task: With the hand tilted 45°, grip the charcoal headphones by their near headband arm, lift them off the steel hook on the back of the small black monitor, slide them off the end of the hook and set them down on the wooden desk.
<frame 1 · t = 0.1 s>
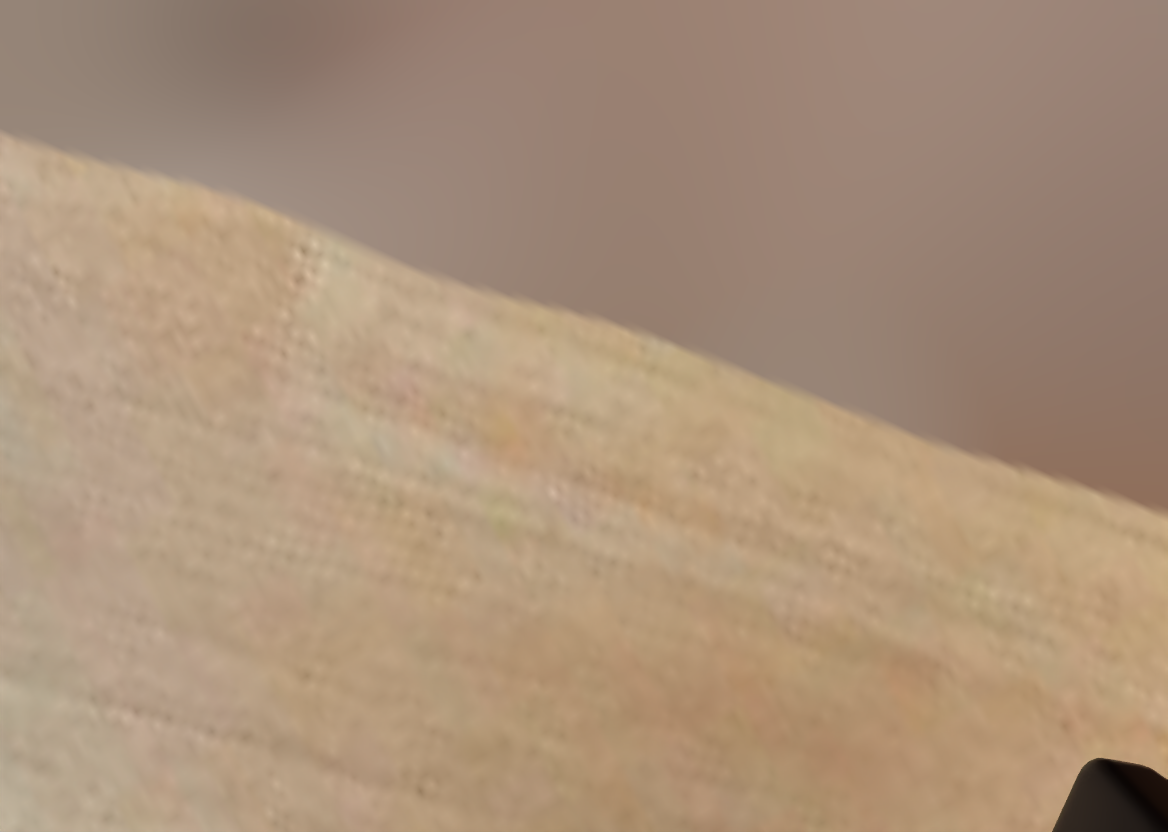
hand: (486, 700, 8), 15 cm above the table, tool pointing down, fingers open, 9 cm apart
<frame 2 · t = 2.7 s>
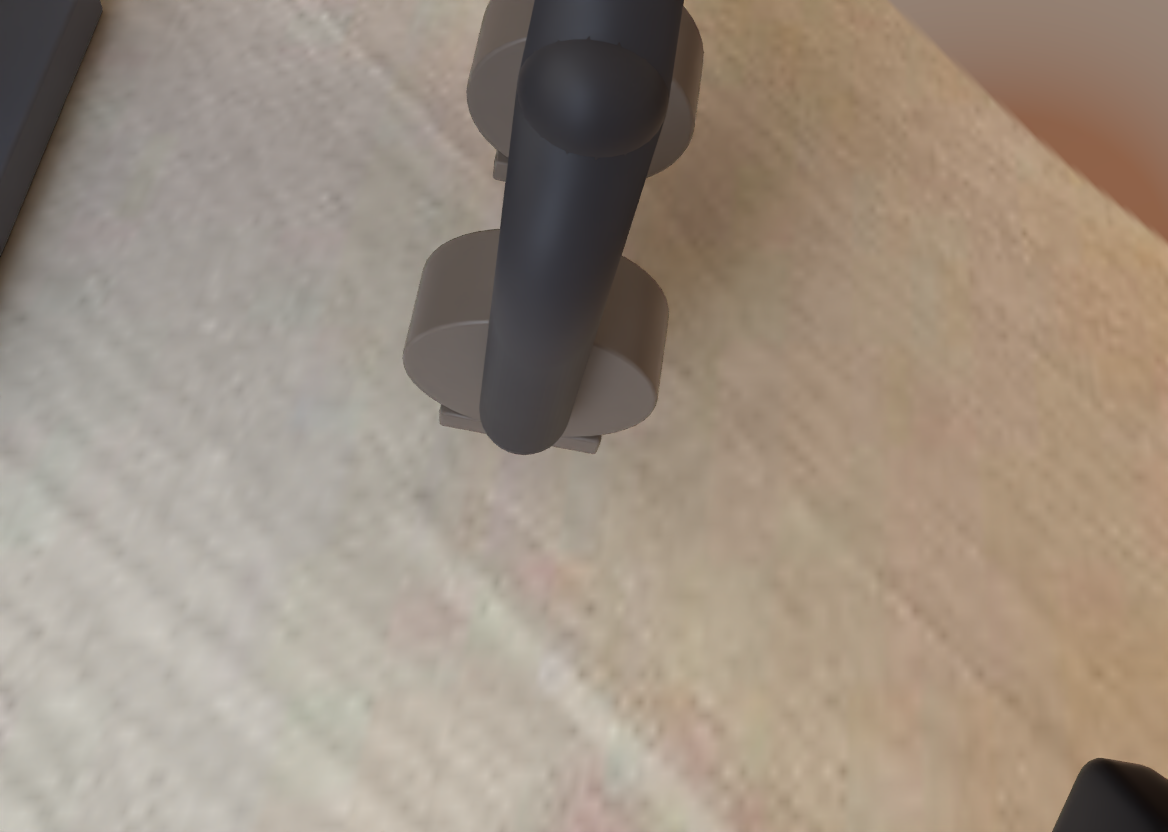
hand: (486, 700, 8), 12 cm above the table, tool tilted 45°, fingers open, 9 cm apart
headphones: (548, 274, 21), point 2 cm above the table, touching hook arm
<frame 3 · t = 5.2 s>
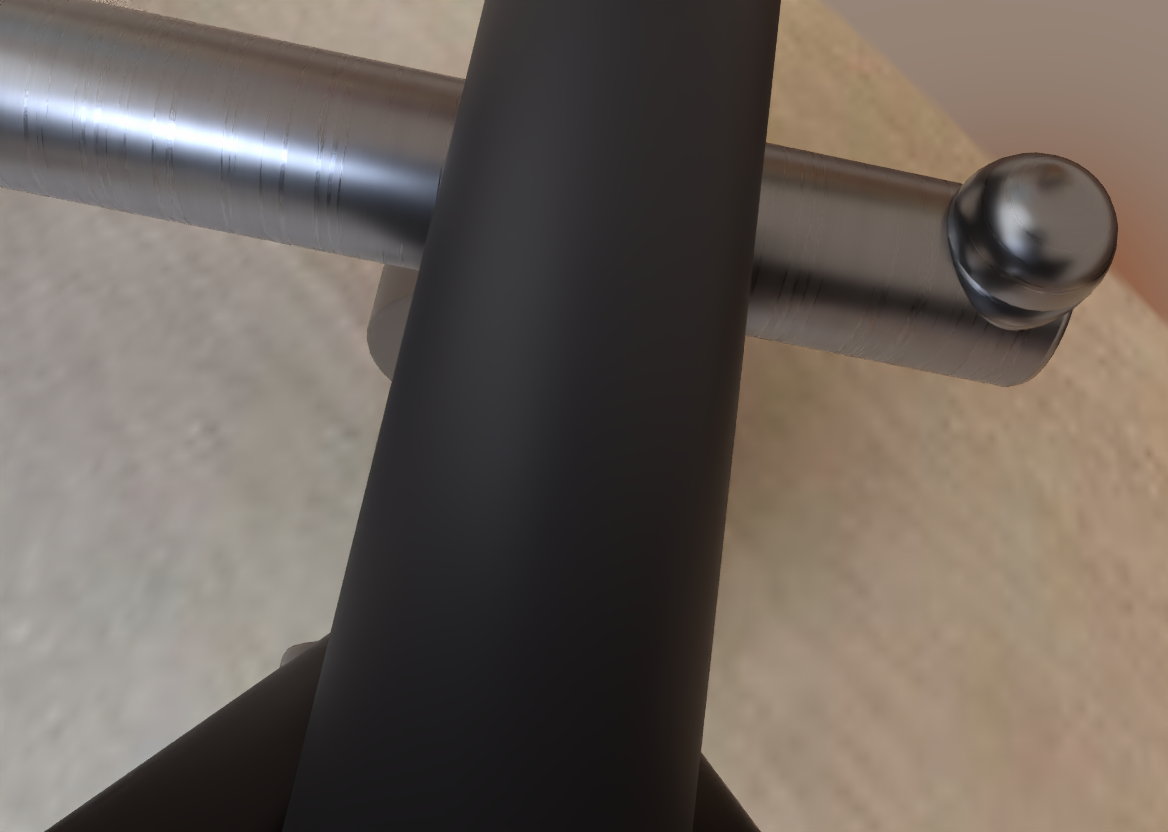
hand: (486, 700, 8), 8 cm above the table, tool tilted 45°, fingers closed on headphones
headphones: (496, 578, 14), point 2 cm above the table, touching gripper, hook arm
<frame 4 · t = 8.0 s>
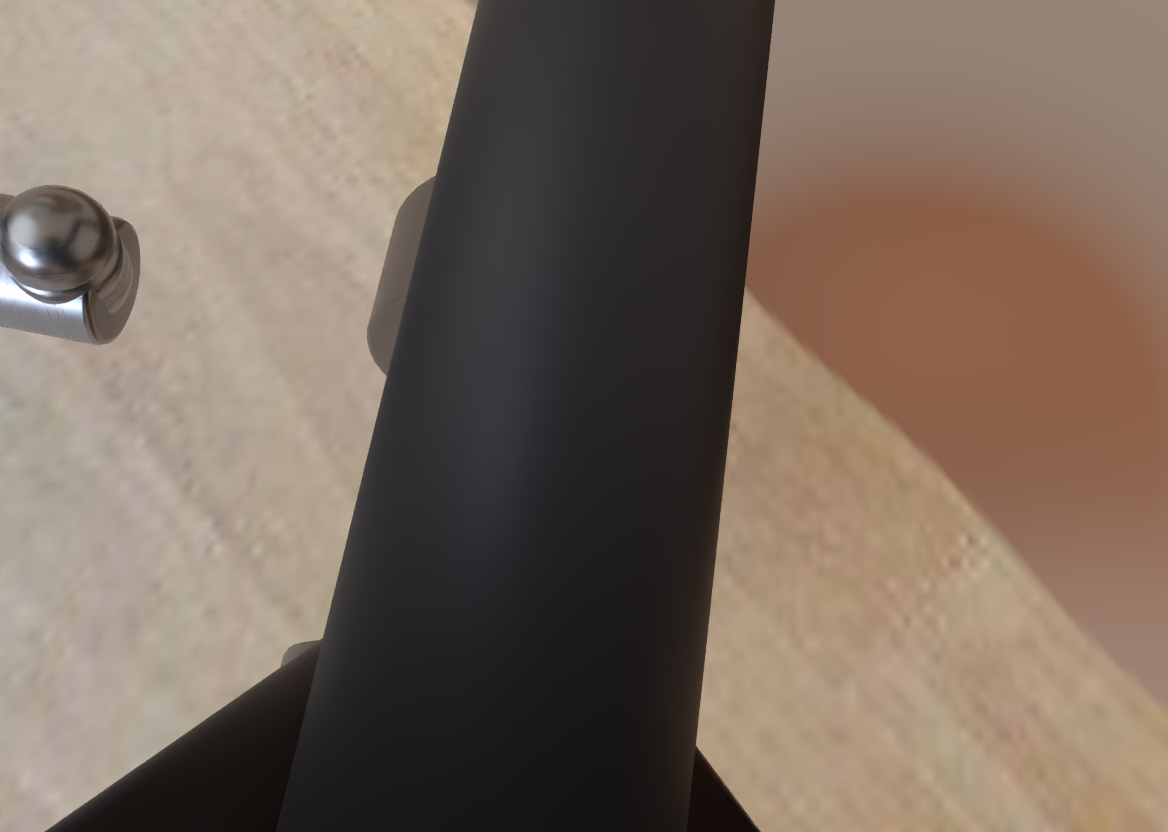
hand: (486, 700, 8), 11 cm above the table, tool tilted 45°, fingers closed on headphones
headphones: (497, 577, 14), point 5 cm above the table, touching gripper
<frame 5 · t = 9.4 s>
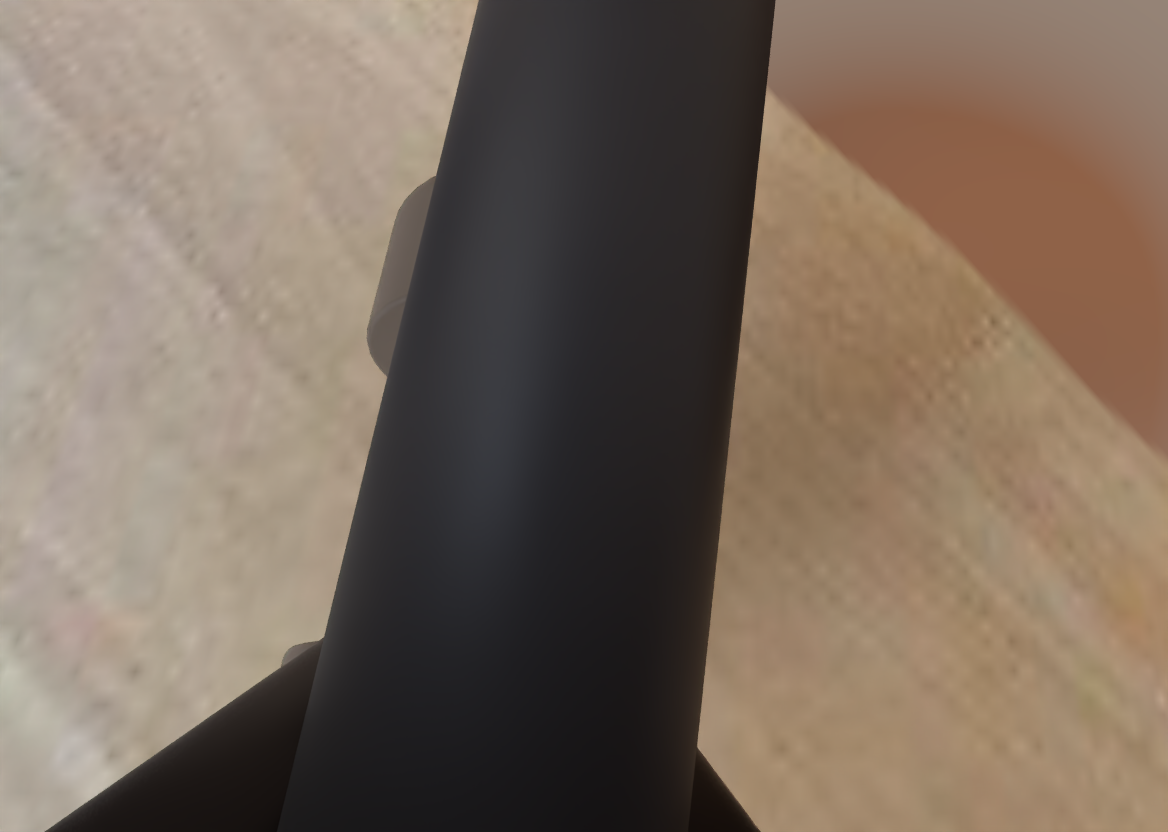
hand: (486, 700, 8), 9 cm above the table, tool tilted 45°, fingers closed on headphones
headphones: (497, 577, 14), point 3 cm above the table, touching gripper
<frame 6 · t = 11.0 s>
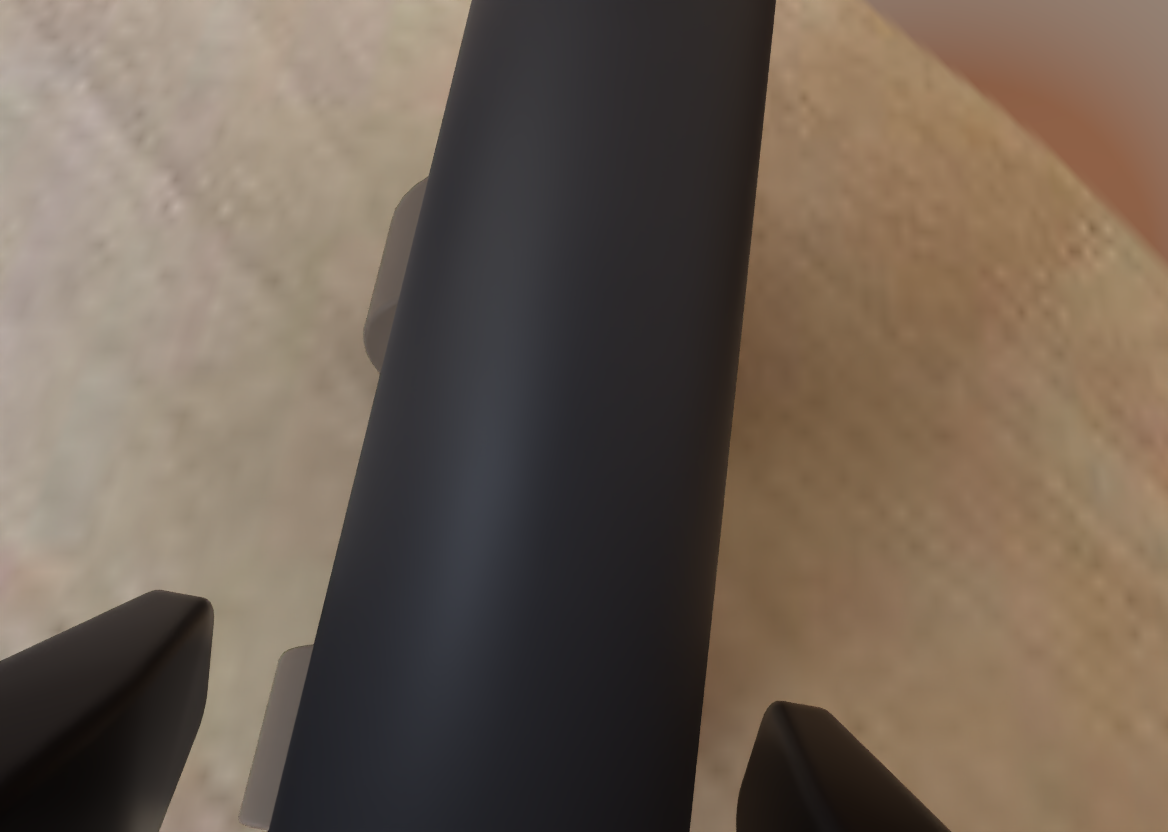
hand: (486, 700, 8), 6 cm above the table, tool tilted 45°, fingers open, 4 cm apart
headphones: (494, 579, 14), on the table
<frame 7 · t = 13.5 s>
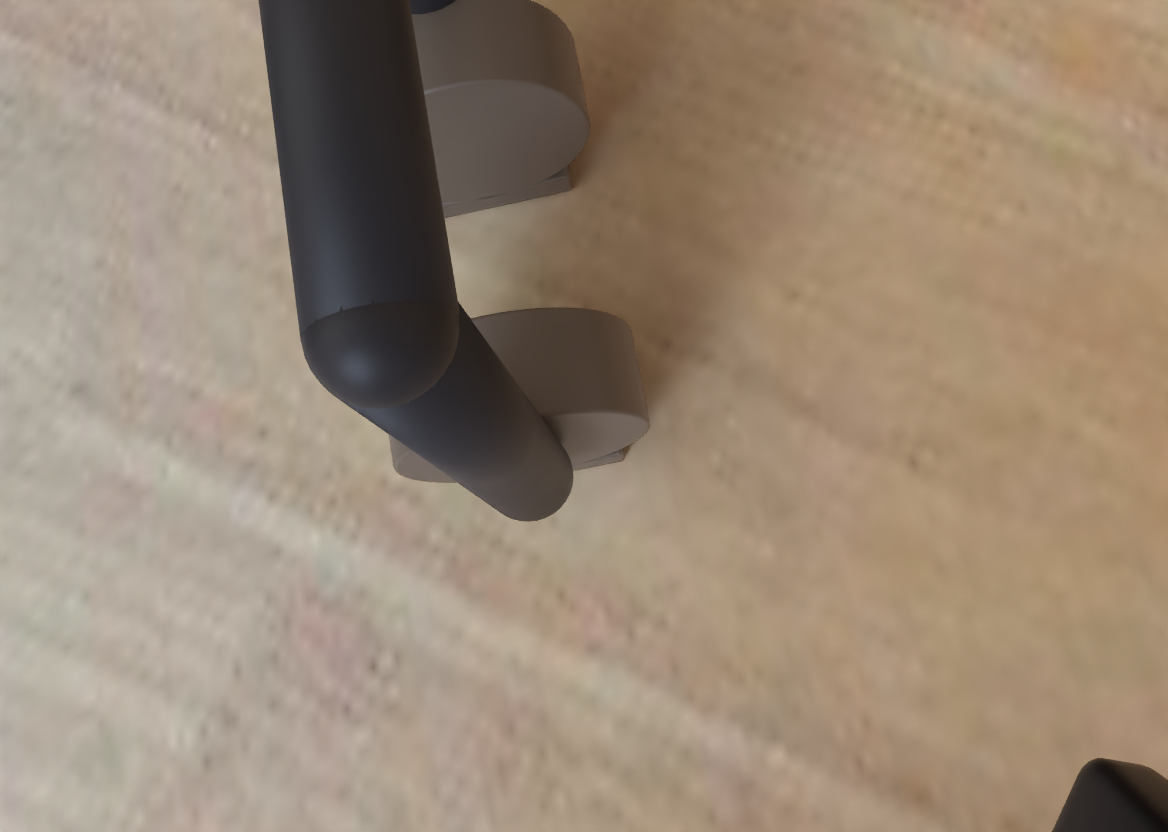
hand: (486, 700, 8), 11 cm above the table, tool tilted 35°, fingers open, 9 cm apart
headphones: (516, 296, 20), on the table
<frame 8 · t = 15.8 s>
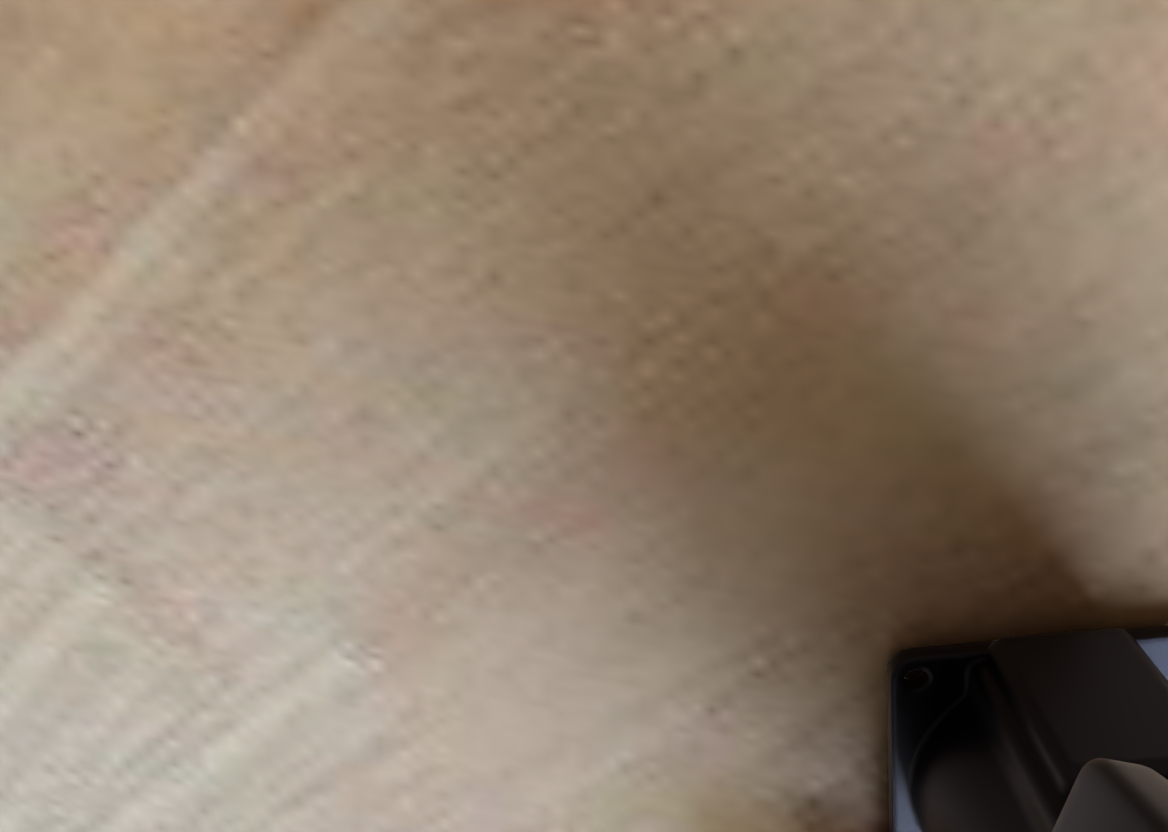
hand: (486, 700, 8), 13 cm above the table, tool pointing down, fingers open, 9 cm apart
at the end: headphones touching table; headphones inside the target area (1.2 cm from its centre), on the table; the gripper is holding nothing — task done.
